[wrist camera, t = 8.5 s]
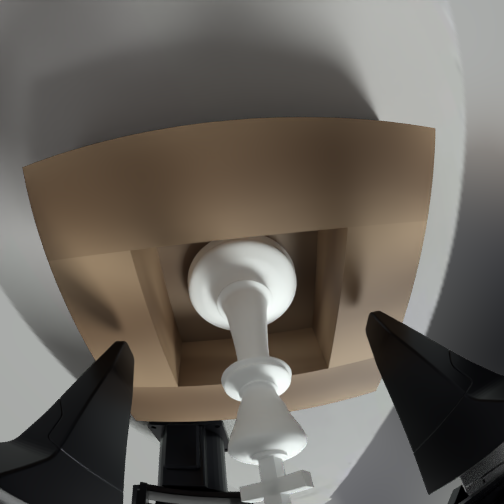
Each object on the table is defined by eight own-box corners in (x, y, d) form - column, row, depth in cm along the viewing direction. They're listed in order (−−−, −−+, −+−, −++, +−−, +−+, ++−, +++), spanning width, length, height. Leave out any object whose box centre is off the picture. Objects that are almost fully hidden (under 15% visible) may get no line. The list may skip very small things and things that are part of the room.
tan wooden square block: (353, 346, 17) (375, 390, 14) (145, 371, 16) (136, 420, 13) (379, 120, 11) (435, 128, 7) (73, 149, 10) (22, 167, 6)
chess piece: (165, 273, 12) (119, 510, 3) (256, 209, 11) (354, 473, 2) (231, 337, 14) (252, 530, 5) (312, 288, 13) (403, 484, 5)
